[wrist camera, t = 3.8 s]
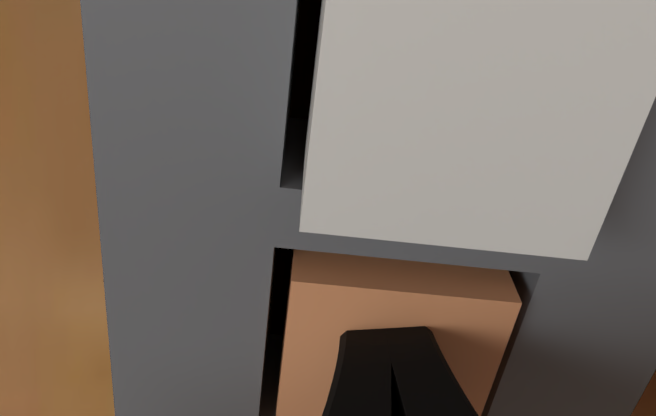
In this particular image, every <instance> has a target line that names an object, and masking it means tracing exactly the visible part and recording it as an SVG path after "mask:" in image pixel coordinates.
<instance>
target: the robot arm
mask: <svg viewBox="0 0 656 416" xmlns="http://www.w3.org/2000/svg"><path fill="white" fill-rule="evenodd" d="M322 416H479V415H478V414H477V412H476V411H475V409H474V408H473V406H472V404H471V403H470V401H469V400H468V398H467V396H466V395H465V393H464V391H463V390H462V388H461V386H460V385H459V383H458V381H457V379H456V378H455V376H454V374H453V372H452V371H451V369H450V367H449V365H448V363H447V361H446V360H445V358H444V356H443V354H442V352H441V350H440V348H439V346H438V343H437V341H436V339H435V337H434V334H433V332H432V331H431V330H430V329H428V328H427V327H426V326H416V327H400V328H382V329H364V330H347V331H346V332H344V333H343V334H342V335H341V336H340V341H339V351H338V357H337V362H336V367H335V372H334V376H333V380H332V384H331V387H330V391H329V394H328V398H327V402H326V405H325V408H324V411H323V414H322Z"/></svg>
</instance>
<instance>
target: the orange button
mask: <svg viewBox="0 0 656 416" xmlns="http://www.w3.org/2000/svg"><path fill="white" fill-rule="evenodd" d="M521 305H522V302H521V299H520V297H519V295H518V292H517V290H516V288H515V285H514V283H513V281H512V278H511V276H510V273H509V271H508V270H499V269H489V268H479V267H469V266H459V265H449V264H439V263H428V262H418V261H408V260H398V259H388V258H378V257H368V256H358V255H348V254H338V253H327V252H317V251H307V250H297V249H292V258H291V267H290V276H289V285H288V294H287V303H286V312H285V321H284V330H283V339H282V350H281V361H280V372H279V383H278V395H277V406H276V416H322V414H323V411H324V408H325V405H326V402H327V398H328V394H329V391H330V387H331V384H332V380H333V376H334V372H335V367H336V362H337V357H338V351H339V341H340V336H341V335H342V334H343V333H344V332H346V331H347V330H364V329H382V328H400V327H416V326H426V327H427V328H428V329H430V330H431V331H432V332H433V334H434V337H435V339H436V341H437V343H438V346H439V348H440V350H441V352H442V354H443V356H444V358H445V360H446V361H447V363H448V365H449V367H450V369H451V371H452V372H453V374H454V376H455V378H456V379H457V381H458V383H459V385H460V386H461V388H462V390H463V391H464V393H465V395H466V396H467V398H468V400H469V401H470V403H471V404H472V406H473V408H474V409H475V411H476V412H477V414H478V415H479V416H481V414H482V412H483V409H484V406H485V403H486V401H487V398H488V395H489V392H490V390H491V387H492V384H493V382H494V379H495V376H496V373H497V371H498V368H499V365H500V362H501V360H502V357H503V354H504V351H505V349H506V346H507V343H508V341H509V338H510V335H511V332H512V330H513V327H514V324H515V321H516V319H517V316H518V313H519V311H520V308H521Z"/></svg>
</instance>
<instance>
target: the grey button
mask: <svg viewBox="0 0 656 416" xmlns="http://www.w3.org/2000/svg"><path fill="white" fill-rule="evenodd" d="M655 97H656V0H322V1H321V10H320V19H319V28H318V36H317V45H316V54H315V63H314V72H313V81H312V90H311V99H310V108H309V116H308V125H307V134H306V143H305V157H304V171H303V185H302V199H301V213H300V227H299V232H308V233H318V234H328V235H338V236H348V237H357V238H367V239H377V240H387V241H397V242H407V243H417V244H427V245H437V246H447V247H457V248H466V249H476V250H486V251H496V252H506V253H516V254H526V255H536V256H546V257H556V258H566V259H575V260H585V261H587V260H588V258H589V255H590V253H591V250H592V248H593V246H594V243H595V241H596V238H597V236H598V234H599V231H600V229H601V226H602V224H603V222H604V219H605V217H606V214H607V212H608V210H609V207H610V205H611V202H612V200H613V198H614V195H615V193H616V190H617V188H618V186H619V183H620V181H621V178H622V176H623V174H624V171H625V169H626V167H627V164H628V162H629V159H630V157H631V155H632V152H633V150H634V147H635V145H636V143H637V140H638V138H639V135H640V133H641V131H642V128H643V126H644V123H645V121H646V119H647V116H648V114H649V111H650V109H651V107H652V104H653V102H654V99H655Z"/></svg>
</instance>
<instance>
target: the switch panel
mask: <svg viewBox="0 0 656 416" xmlns="http://www.w3.org/2000/svg"><path fill="white" fill-rule="evenodd" d="M80 3H81V15H82V27H83V39H84V51H85V62H86V74H87V86H88V98H89V110H90V122H91V134H92V146H93V157H94V169H95V181H96V193H97V205H98V217H99V229H100V241H101V253H102V264H103V276H104V288H105V300H106V312H107V324H108V336H109V348H110V359H111V371H112V383H113V395H114V407H115V416H276V406H277V395H278V383H279V372H280V361H281V350H282V339H283V335H277V334H269V325H270V314H271V304H272V293H273V283H274V272H275V262H276V251H277V248H287V249H297V250H307V251H317V252H327V253H338V254H348V255H358V256H368V257H378V258H388V259H398V260H408V261H418V262H428V263H439V264H449V265H459V266H469V267H479V268H489V269H499V270H508V271H509V273H510V276H511V278H512V281H513V283H514V285H515V288H516V290H517V292H518V295H519V297H520V299H521V302H522V305H521V308H520V311H519V313H518V316H517V319H516V321H515V324H514V327H513V330H512V332H511V335H510V338H509V341H508V343H507V346H506V349H505V351H504V354H503V357H502V360H501V362H500V365H499V368H498V371H497V373H496V376H495V379H494V382H493V384H492V387H491V390H490V392H489V395H488V398H487V401H486V403H485V406H484V409H483V412H482V414H481V416H630V415H631V414H632V412H633V410H634V408H635V406H636V405H637V403H638V401H639V399H640V397H641V396H642V394H643V392H644V390H645V388H646V386H647V385H648V383H649V381H650V379H651V377H652V376H653V374H654V372H655V370H656V97H655V99H654V102H653V104H652V107H651V109H650V111H649V114H648V116H647V119H646V121H645V123H644V126H643V128H642V131H641V133H640V135H639V138H638V140H637V143H636V145H635V147H634V150H633V152H632V155H631V157H630V159H629V162H628V164H627V167H626V169H625V171H624V174H623V176H622V178H621V181H620V183H619V186H618V188H617V190H616V193H615V195H614V198H613V200H612V202H611V205H610V207H609V210H608V212H607V214H606V217H605V219H604V222H603V224H602V226H601V229H600V231H599V234H598V236H597V238H596V241H595V243H594V246H593V248H592V250H591V253H590V255H589V258H588V260H587V261H585V260H575V259H566V258H556V257H546V256H536V255H526V254H516V253H506V252H496V251H486V250H476V249H466V248H457V247H447V246H437V245H427V244H417V243H407V242H397V241H387V240H377V239H367V238H357V237H348V236H338V235H328V234H318V233H308V232H299V227H300V213H301V199H302V185H303V171H304V157H305V143H306V134H307V125H308V119H300V118H291V117H289V115H290V104H291V94H292V83H293V73H294V62H295V52H296V41H297V31H298V20H299V10H300V0H80Z"/></svg>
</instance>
